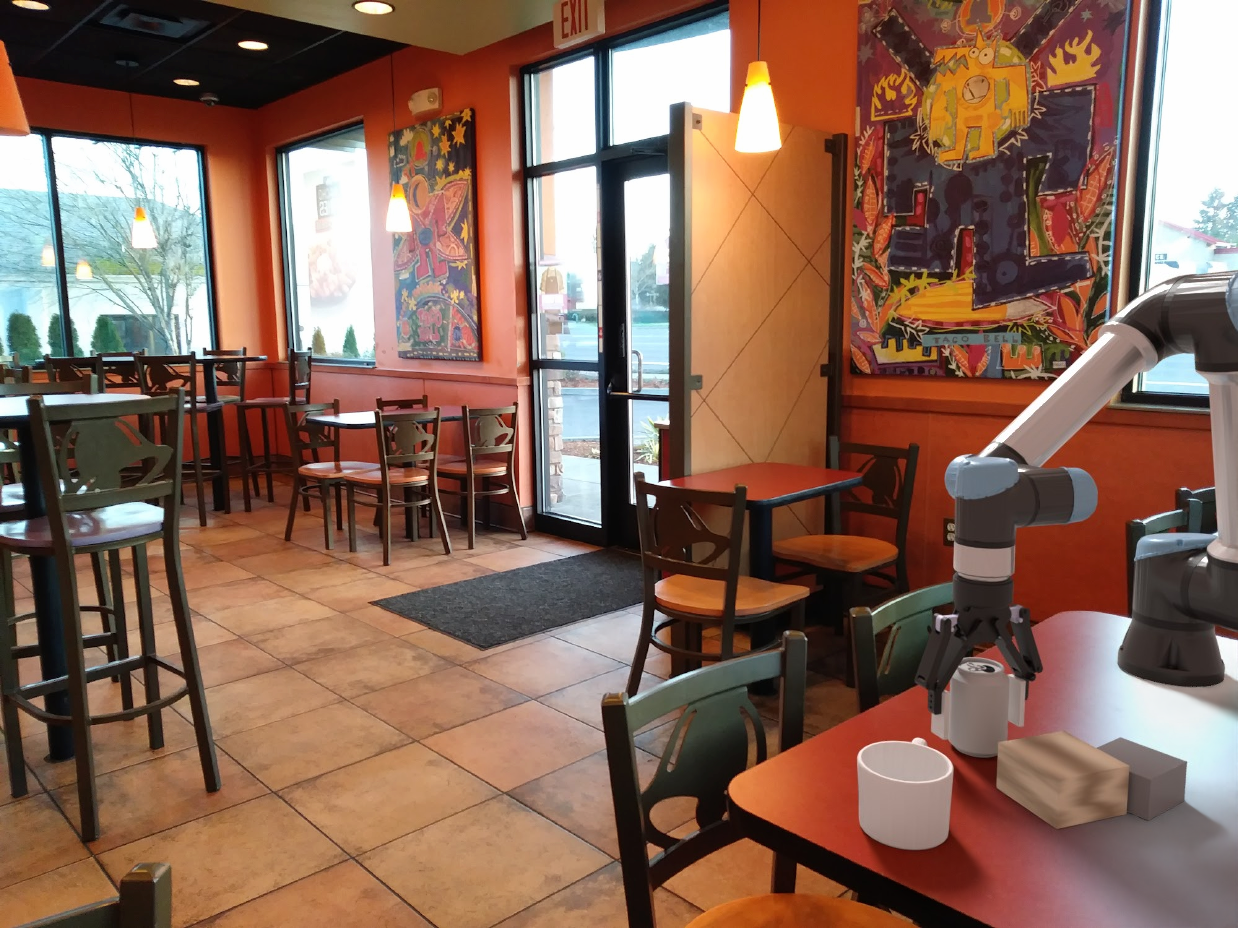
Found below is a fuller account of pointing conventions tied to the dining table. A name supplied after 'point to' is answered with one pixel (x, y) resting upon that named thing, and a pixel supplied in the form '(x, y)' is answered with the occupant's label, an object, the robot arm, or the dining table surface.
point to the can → (978, 707)
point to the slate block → (1149, 777)
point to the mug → (904, 794)
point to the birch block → (1062, 779)
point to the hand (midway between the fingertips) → (977, 728)
